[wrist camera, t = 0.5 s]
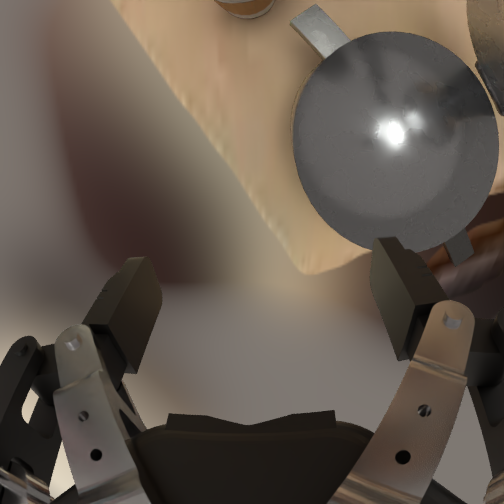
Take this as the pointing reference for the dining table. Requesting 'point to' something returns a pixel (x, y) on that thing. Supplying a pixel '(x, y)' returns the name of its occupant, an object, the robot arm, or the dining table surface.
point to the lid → (489, 45)
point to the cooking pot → (392, 138)
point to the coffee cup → (246, 7)
